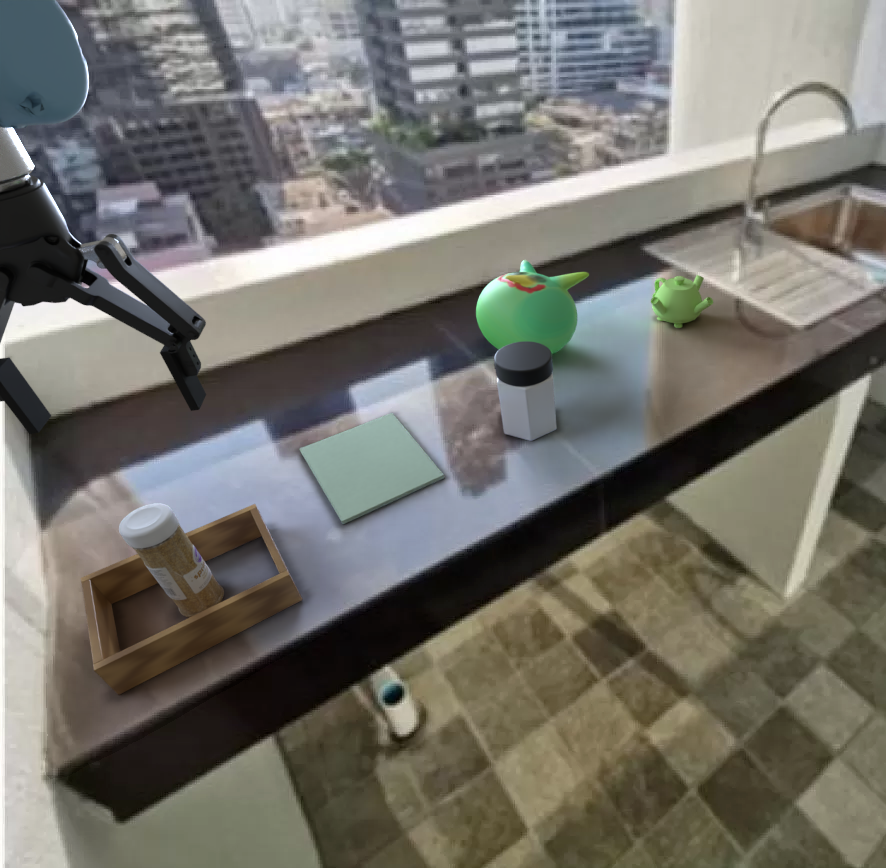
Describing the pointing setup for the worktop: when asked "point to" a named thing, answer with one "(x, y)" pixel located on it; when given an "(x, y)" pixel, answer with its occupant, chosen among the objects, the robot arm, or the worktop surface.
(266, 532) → the wooden tray
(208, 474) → the worktop surface
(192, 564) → the spice bottle
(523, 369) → the jar
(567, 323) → the toy bird
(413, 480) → the mat
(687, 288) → the teapot
